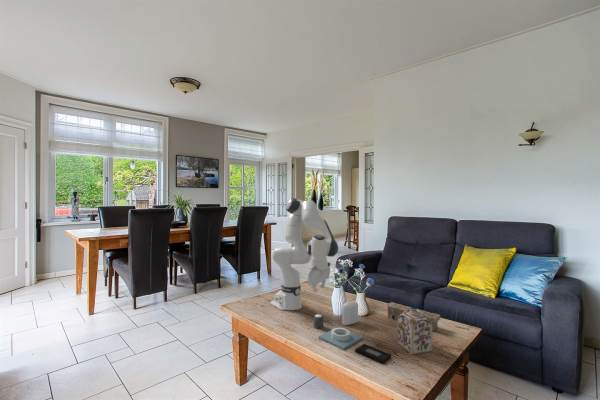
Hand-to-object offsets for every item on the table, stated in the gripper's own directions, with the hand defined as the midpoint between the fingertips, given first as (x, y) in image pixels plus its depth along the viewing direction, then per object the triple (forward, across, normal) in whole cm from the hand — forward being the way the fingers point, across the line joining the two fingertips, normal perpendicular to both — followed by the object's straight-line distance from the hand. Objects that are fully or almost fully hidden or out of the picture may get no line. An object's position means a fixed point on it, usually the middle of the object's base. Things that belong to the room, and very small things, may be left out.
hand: (318, 289), depth 166 cm
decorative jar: (+21, +5, -50) cm, 54 cm away
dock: (+21, -6, -16) cm, 27 cm away
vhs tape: (+22, -13, -35) cm, 43 cm away
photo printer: (+21, +14, -13) cm, 28 cm away
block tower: (+21, +34, -43) cm, 59 cm away
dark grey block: (+21, 0, 0) cm, 21 cm away
